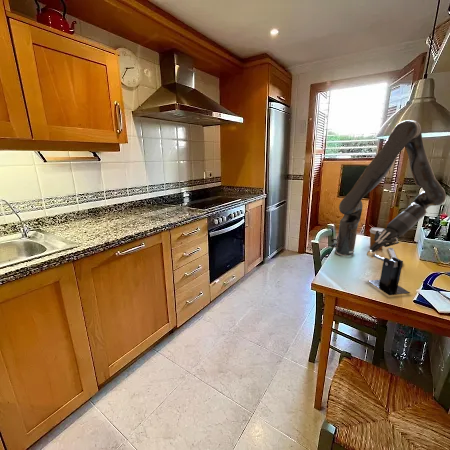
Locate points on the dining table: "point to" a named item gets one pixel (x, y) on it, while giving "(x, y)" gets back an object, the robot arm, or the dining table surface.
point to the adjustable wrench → (392, 253)
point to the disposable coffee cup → (372, 235)
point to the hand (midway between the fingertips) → (372, 249)
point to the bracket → (390, 278)
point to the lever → (372, 254)
